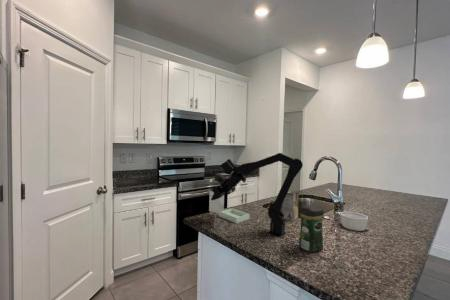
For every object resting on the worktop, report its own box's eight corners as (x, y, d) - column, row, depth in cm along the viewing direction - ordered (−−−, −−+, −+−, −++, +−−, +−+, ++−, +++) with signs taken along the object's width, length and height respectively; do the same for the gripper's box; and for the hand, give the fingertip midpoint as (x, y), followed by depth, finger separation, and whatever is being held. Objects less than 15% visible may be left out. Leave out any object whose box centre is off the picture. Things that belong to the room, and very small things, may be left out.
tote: (249, 219, 126) (249, 214, 126) (236, 223, 119) (236, 218, 119) (231, 212, 137) (231, 208, 137) (218, 216, 130) (218, 211, 130)
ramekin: (340, 221, 127) (340, 210, 127) (366, 226, 121) (367, 214, 120) (339, 228, 116) (339, 215, 116) (368, 234, 109) (369, 220, 109)
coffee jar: (310, 242, 98) (312, 202, 98) (326, 249, 91) (327, 206, 90) (295, 246, 94) (296, 204, 93) (309, 254, 86) (311, 209, 86)
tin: (223, 210, 120) (224, 189, 120) (218, 213, 114) (219, 191, 114) (214, 208, 123) (215, 187, 123) (208, 211, 117) (209, 189, 117)
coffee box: (288, 215, 136) (289, 190, 136) (298, 217, 132) (299, 191, 132) (282, 219, 129) (283, 192, 128) (293, 221, 125) (293, 194, 124)
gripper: (231, 168, 125) (214, 184, 130) (215, 171, 108) (196, 190, 113) (243, 183, 121) (225, 199, 126) (228, 188, 105) (209, 207, 110)
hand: (214, 198), depth 119 cm, fingers closed on tin, 6 cm apart
